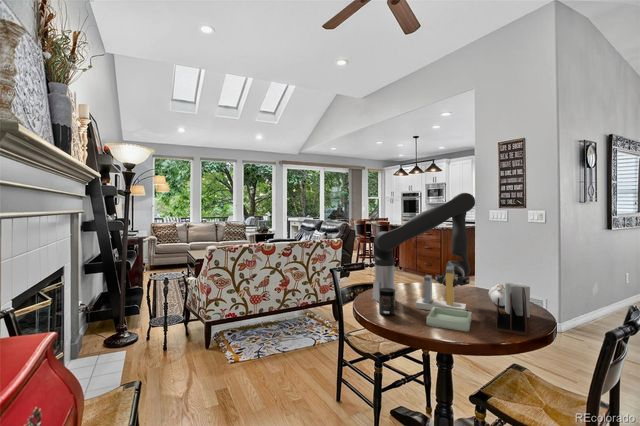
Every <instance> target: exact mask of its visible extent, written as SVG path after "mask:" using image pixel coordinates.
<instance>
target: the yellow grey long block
mask: <svg viewBox="0 0 640 426" xmlns="http://www.w3.org/2000/svg"><path fill="white" fill-rule="evenodd" d="M445 272H446V286H445V301H446V305H453V304H454V303H455V287H453V280H454V267H452V266H447V268H445Z"/></svg>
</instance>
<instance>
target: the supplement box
mask: <svg viewBox="0 0 640 426" xmlns="http://www.w3.org/2000/svg"><path fill="white" fill-rule="evenodd" d="M504 284H505V285H504V288H505V306H504V312H506V314H510V293H511V294H512V307H513V309H514V311H515V313H516V315H518V316H523V305H522V304H523V303H522V287H524V289H525V295H526V308H527V318H530V316H531V305H530V304H531V288H530V286H529V285H527V284H525V283H523V282H505V283H504Z"/></svg>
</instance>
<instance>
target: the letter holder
mask: <svg viewBox="0 0 640 426" xmlns="http://www.w3.org/2000/svg"><path fill="white" fill-rule="evenodd" d="M522 303H523V304H522V305H523V316H518V315H516V313H515V311H514V309H513V307H512V294H511V293H510V314H508V313H502V312H501V311H500V306H499V297H498V300H497V305H496V318H495V319H496V320H495V331H497V332H501V333H509V334H515V335H518V336H519V335H520V336H528V317H527V308H526V295H525V289H524V287H522Z"/></svg>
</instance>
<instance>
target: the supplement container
mask: <svg viewBox="0 0 640 426" xmlns="http://www.w3.org/2000/svg"><path fill="white" fill-rule="evenodd" d="M378 312H379V314H380V315H381V316H384V317H393V316H394V315H395V314H396V289H395V288H394V289H392V288H380V289H379V302H378Z"/></svg>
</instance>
